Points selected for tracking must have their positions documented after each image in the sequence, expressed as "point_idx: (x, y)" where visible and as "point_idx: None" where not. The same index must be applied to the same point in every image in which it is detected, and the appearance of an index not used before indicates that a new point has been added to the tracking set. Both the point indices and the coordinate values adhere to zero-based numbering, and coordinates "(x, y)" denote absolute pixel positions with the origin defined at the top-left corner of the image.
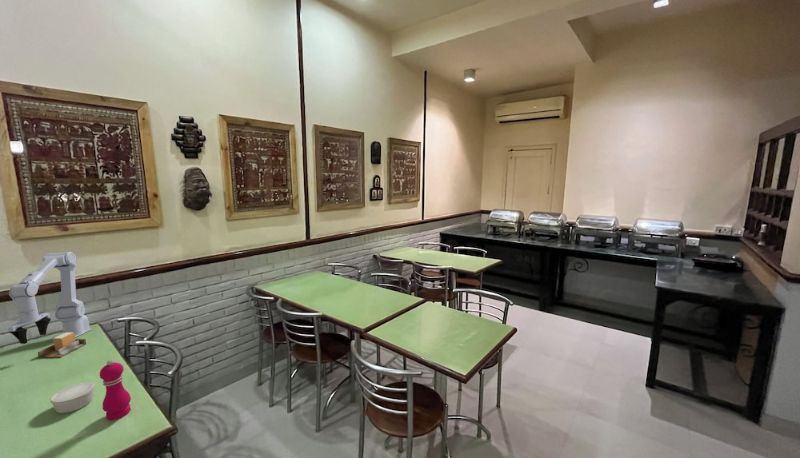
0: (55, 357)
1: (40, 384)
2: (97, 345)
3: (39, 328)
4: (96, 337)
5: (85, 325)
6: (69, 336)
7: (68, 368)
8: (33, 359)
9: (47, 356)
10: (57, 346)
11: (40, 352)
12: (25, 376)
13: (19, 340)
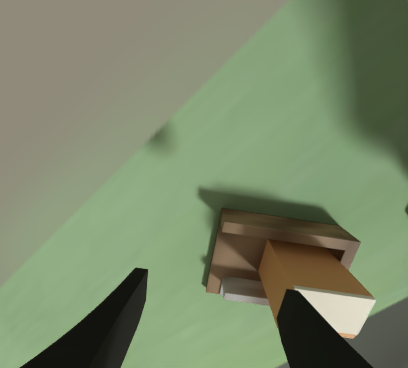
0: (209, 271)
1: (44, 341)
2: None
3: (324, 365)
4: None
5: None
6: None
7: (127, 352)
8: (212, 195)
9: (215, 246)
10: (271, 264)
11: (223, 231)
12: (83, 270)
13: (115, 296)
